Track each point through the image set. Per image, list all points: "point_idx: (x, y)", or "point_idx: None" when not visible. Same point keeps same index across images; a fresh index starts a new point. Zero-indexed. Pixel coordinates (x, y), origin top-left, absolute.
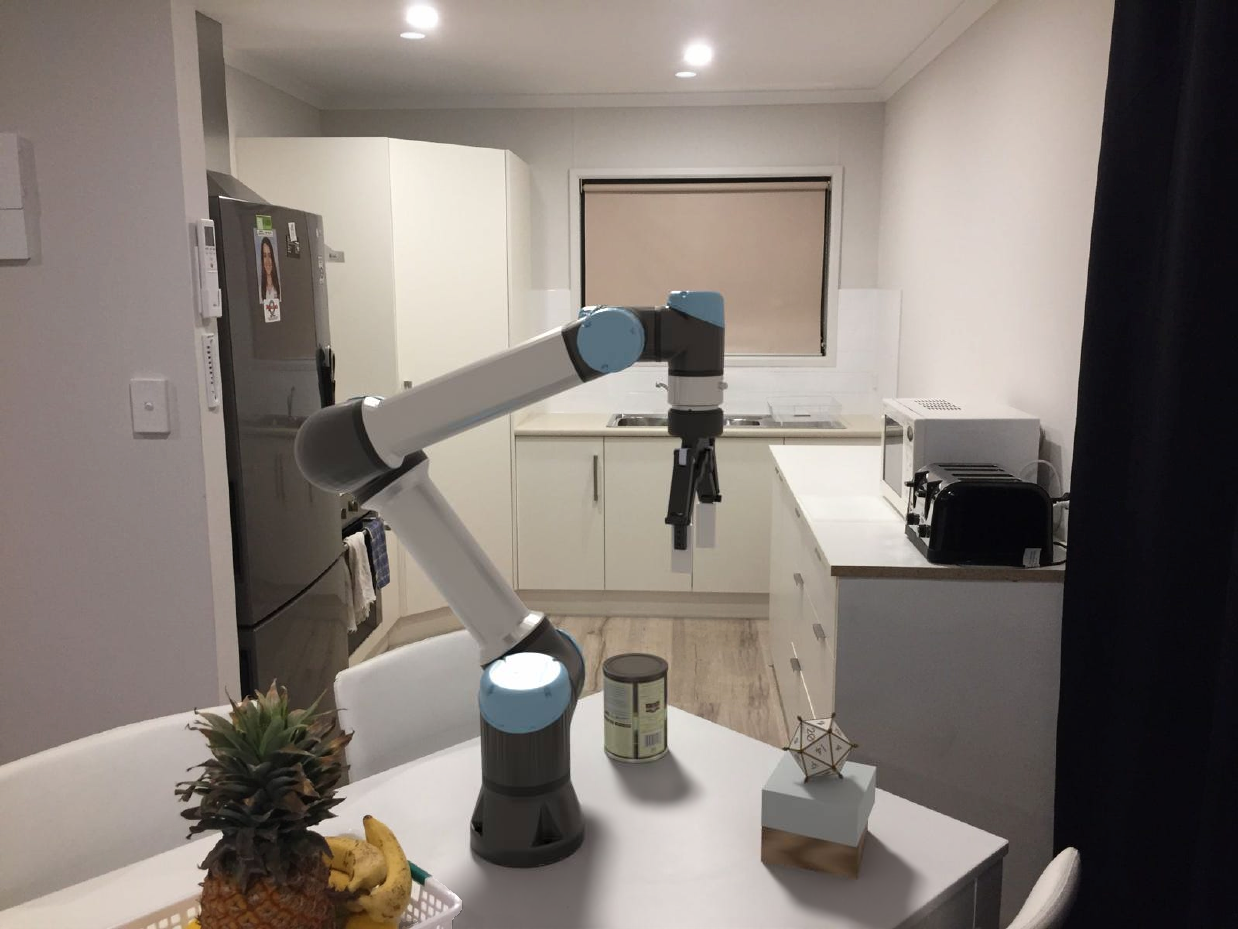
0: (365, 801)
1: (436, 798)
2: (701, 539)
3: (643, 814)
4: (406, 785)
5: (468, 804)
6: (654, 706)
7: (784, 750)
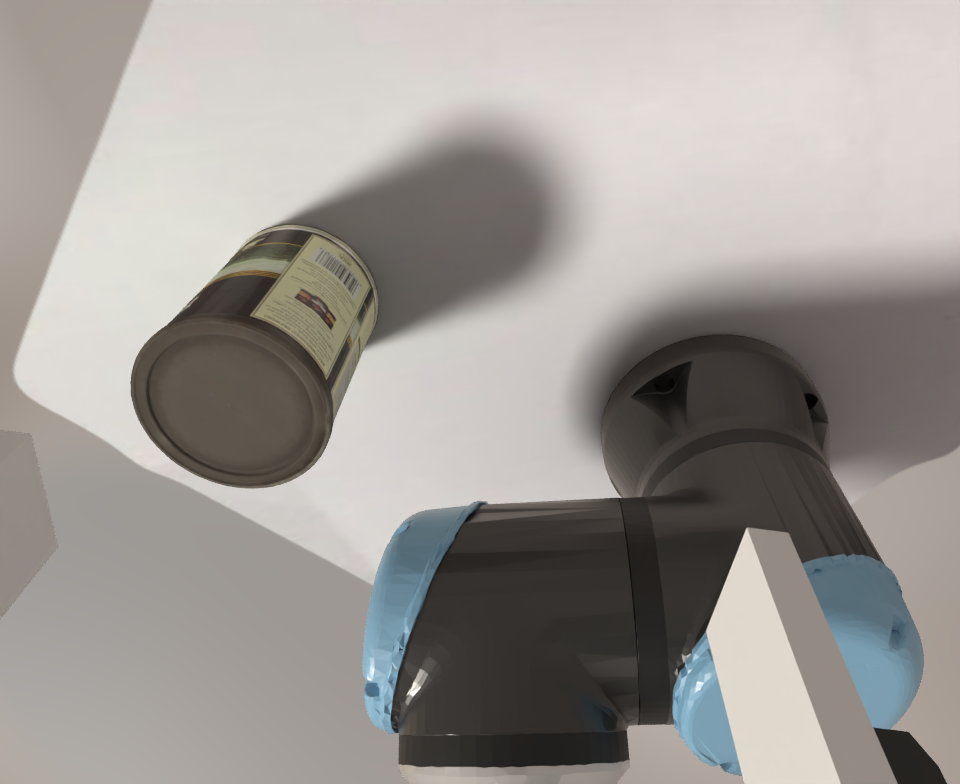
0: None
1: None
2: (9, 560)
3: (602, 235)
4: None
5: None
6: (315, 304)
7: None
